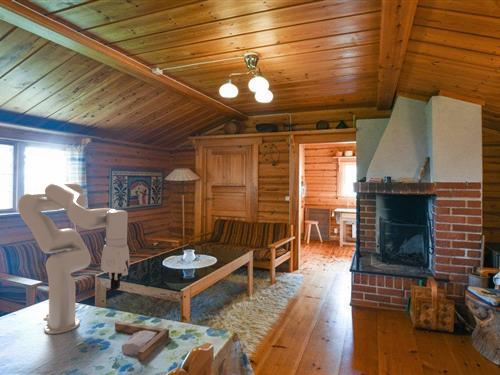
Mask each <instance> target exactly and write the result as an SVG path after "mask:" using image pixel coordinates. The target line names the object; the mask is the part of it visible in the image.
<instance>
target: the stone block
mask: <svg viewBox="0 0 500 375" xmlns="http://www.w3.org/2000/svg"><path fill="white" fill-rule="evenodd" d="M155 336H157V333H155V332H151V331H139V332H136V333H134V334H133V333H132V335H130V336H129V338H127V339H126V340H125V341H124V343H122V344H121V351H122V354H124V355H136V356H138V351H139V350H140V349H142V348H143V347H144V346H145V345H146V344H147V343H148V342H150V341H151V340H152V339H153V338H154V337H155Z"/></svg>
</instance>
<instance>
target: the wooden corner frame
mask: <svg viewBox="0 0 500 375" xmlns="http://www.w3.org/2000/svg"><path fill="white" fill-rule="evenodd" d="M114 331H116V332H123V333H127V334H128V333H129V334H132V335H133V334H134V333H136V332H139V331H151V332H155V333H157V336H155V337H154V338H153V339H152V340H151V341H150V342H148V343H147V344H146V345H145V346H144V347H143V348H142V349H140V350H139V351H138V355H137V360H138V361H141V362H144V361H145V360H146V359H147V358H148V357H149V356H150V355H151V354H152V353H154V351H155V350H156V349H157V348H158V347H160V346H161V345H162V344H163V343H164V342H165V341H166V340H167V339H168V338H169V337H170V329H168V328H164V327H158V326H151V325H144V324H141V323H140V324H139V323H132V322H128V321H127V322H126V321H119V320H118V321H116V322H115V323H114Z"/></svg>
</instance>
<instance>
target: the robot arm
mask: <svg viewBox="0 0 500 375" xmlns="http://www.w3.org/2000/svg"><path fill="white" fill-rule="evenodd" d="M83 190H84V189H83V188H82V186H81V185H80V184H78V183H77V182H52V183H50V184H49V185H47V186H46V187H45V189H44V191H35V192H34V191H33V192H28V193H25V194H23V195H22V196H20V198H19V199H18V204H17V207H18V209H17V210H18V213H19V215H20V217H21V219H22V221H24V223H25V224H26V226H27V227H28V228H29V230H30V231H31V234H32V235H33V237H34V239H35V241H36V243H37V245H38V247H39V249H40V250H41V251H42V252H43V253H44V254H53V255H51V256H49V257H47V260H46V263H45V270H46V273H47V279H48V313H47V314H46V317H43V321H45V322H47V324H46V325H45V326H44V332H45V333H46V334H50V335H57V334H63V333H68V332H70V331H72V330H75V329H76V328H78V327H79V325H80V322H81V321H80V319H79V318H77V317H76V280H75V279H74V278H73V276H72V275H71V274H72V273H75V272H78V271H81V270H84V269H87V268H88V267H89V266H90V264H91V262H92V256H91V254H90V251H89V249H88V247H87V245H86V244H85V241H84V240H83V238H82V237H81V234H79V232H78V231H77V230H76V229H73V228H69V227H68V228H61V229H59V228H57V226H56V225H55V222H54V221H53V219H52V218H50V216H48V215H46V214H44V213H43V212H48V211H49V212H50V211H59V210H65V211H66V214H67V217H68V219H69V220H70V221H69V222H71V223H73V224H74V225H76V226H78V227H79V228H82V229H84V230H95V229H101V228H105V237H104V241H105V244H104V245H103V247H102V253H101V260H100V269H101V271H103V273H105V274H107V275H108V278H109V280H110V290H111V291H115V290H118V289H120V288H121V279H122V277H124V276H128V275H129V270H130V264H131V263H130V260H131V259H130V250H129V245H128V217H129V216H128V211H127V210H124V209H114V208H112V207H111V208H110V207H103V208H93V209H88V208H85V206H86V203H87V198H86V195H84V191H83Z"/></svg>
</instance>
